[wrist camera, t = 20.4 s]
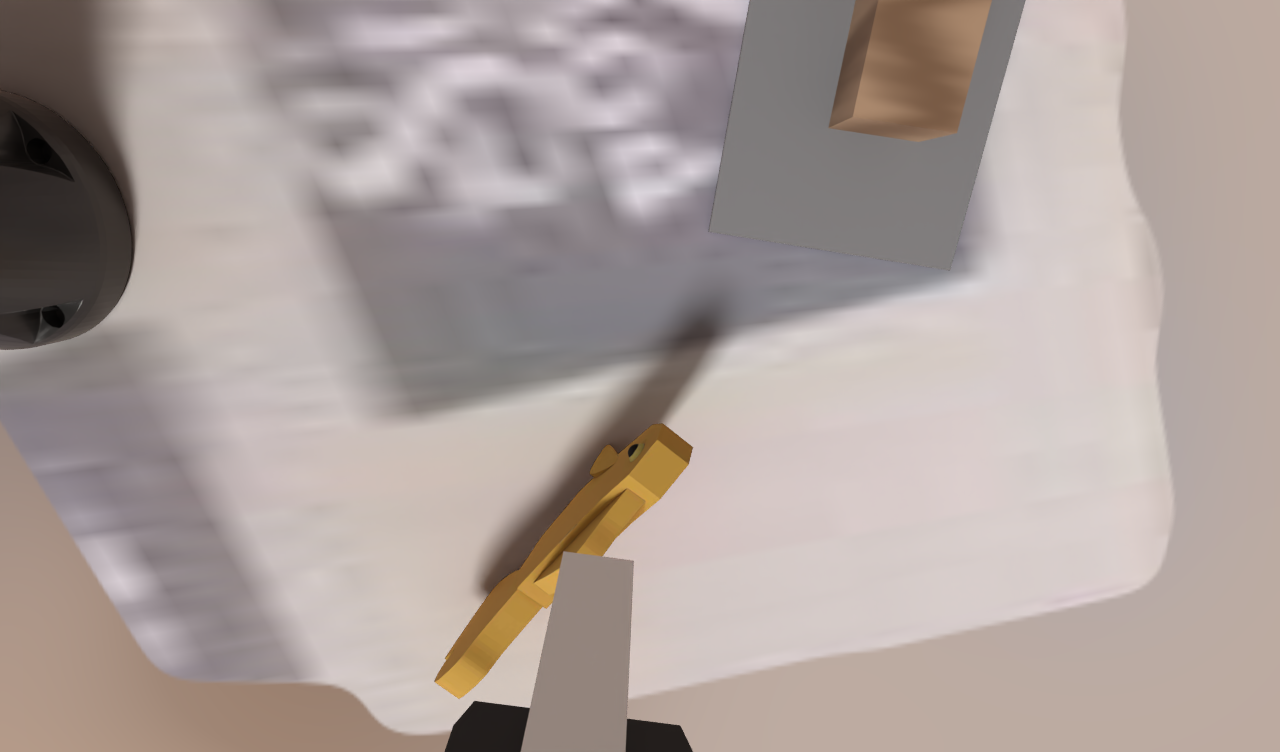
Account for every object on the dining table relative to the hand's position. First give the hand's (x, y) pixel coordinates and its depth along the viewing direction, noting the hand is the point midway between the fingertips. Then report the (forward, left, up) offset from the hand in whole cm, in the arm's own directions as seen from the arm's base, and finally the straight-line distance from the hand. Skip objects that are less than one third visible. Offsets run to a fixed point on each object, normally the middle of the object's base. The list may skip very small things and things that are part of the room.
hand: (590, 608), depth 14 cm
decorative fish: (-3, -13, -27) cm, 30 cm away
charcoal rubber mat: (+10, +16, -27) cm, 33 cm away
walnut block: (+11, +14, -24) cm, 29 cm away
